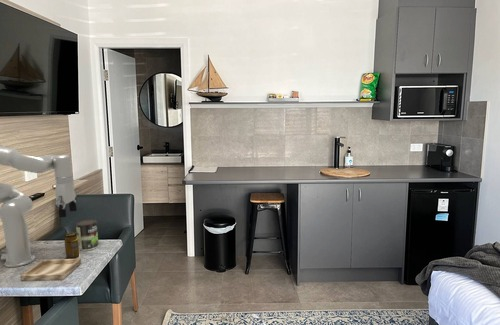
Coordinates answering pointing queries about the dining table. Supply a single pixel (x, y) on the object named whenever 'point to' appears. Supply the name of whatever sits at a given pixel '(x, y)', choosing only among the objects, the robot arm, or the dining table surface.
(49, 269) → the tray
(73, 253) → the condiment
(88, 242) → the coffee can
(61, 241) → the dining table surface
